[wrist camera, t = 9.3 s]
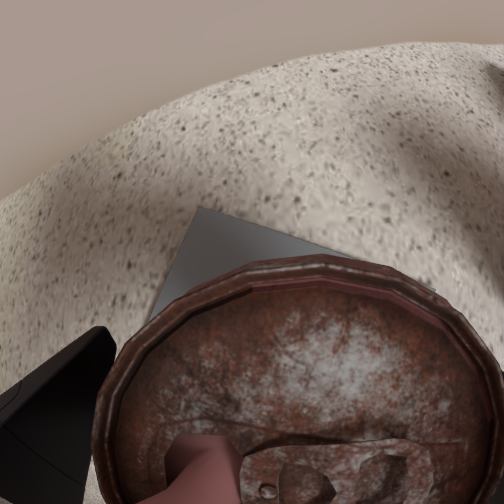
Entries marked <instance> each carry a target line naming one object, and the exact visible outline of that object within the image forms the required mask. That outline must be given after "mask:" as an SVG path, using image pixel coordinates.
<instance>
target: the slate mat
mask: <svg viewBox="0 0 504 504" xmlns="http://www.w3.org/2000/svg"><path fill="white" fill-rule="evenodd" d="M321 253H324V254H329V255H334V256H339V257H344V258H349V259H354V258H351V257H348V256H345V255H343V254H340V253H337V252H334V251H331V250H329V249H326V248H323V247H320V246H317V245H314V244H312V243H309V242H306V241H303V240H300V239H297V238H294V237H291V236H288V235H285V234H283V233H280V232H277V231H274V230H271V229H268V228H265V227H262V226H259V225H256V224H253V223H250V222H247V221H244V220H241V219H238V218H235V217H232V216H229V215H226V214H223V213H219V212H216V211H213V210H210V209H207V208H204V207H201V206H200V207H199V209H198V211H197V213H196V215H195V217H194V219H193V221H192V223H191V225H190V228H189V230H188V232H187V234H186V236H185V238H184V240H183V243H182V245H181V247H180V249H179V251H178V254H177V256H176V258H175V260H174V262H173V265H172V267H171V269H170V271H169V274H168V276H167V278H166V281H165V283H164V285H163V288H162V290H161V292H160V295H159V297H158V299H157V302H156V304H155V307H154V309H153V311H152V314H151V316H150V319H149V321H150V320H152V319H153V318H154V317H155V316H156V315H157V314H158V313H159V312H161V311H162V310H163V309H164V308H165V307H166V306H167V305H169V304H170V303H171V302H172V301H173V300H175V299H177V298H179V297H182V296H183V295H184V294H185V293H186V292H188V291H189V290H190V289H191V288H193V287H195V286H197V285H200V284H202V283H204V282H206V281H209V280H211V279H213V278H216V277H218V276H220V275H223V274H225V273H227V272H230V271H232V270H234V269H236V268H239V267H241V266H243V265H246V264H248V263H250V262H252V261H260V260H269V259H278V258H286V257H295V256H304V255H313V254H321ZM355 260H357V259H355ZM420 284H421V283H420ZM422 285H423V286H425V287H427V288H428V289H430V290H432V291H433V292H435V291H436V289H434V288H431V287H429V286H426V285H424V284H422ZM149 321H148V322H149Z"/></svg>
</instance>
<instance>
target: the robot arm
mask: <svg viewBox="0 0 504 504" xmlns="http://www.w3.org/2000/svg"><path fill="white" fill-rule="evenodd" d="M116 351H117V346H116V343H115V341H114V339H113V338H112V336H111V334H110V333H109V331H108V329H107V328H106V327H104V326H95V327H93V328H91V329H90V330H89V331H87V332H86V333H84V334H83V335H82V336H80V337H79V338H77V339H76V340H75V341H73V342H72V343H70V344H69V345H68V346H66V347H65V348H64V349H62V350H61V351H59V352H58V353H57V354H55V355H54V356H53V357H51V358H50V359H49V360H47V361H46V362H45V363H43V364H42V365H40V366H39V367H38V368H36V369H35V370H34V371H32V372H31V373H30V374H28V375H27V376H26V377H24V378H23V380H20V381H19V382H18V383H16V384H15V385H14V386H12V387H11V388H10V389H8V390H7V391H6V392H4V393H3V394H1V395H0V504H83V499H84V493H85V486H86V481H87V476H88V471H89V466H90V461H91V456H92V450H91V436H92V428H93V421H94V414H95V407H96V401H97V395H98V392H99V390H100V388H101V386H102V384H103V382H104V380H105V378H106V377H107V375H108V373H109V371H110V369H111V367H112V366H113V364H114V360H115V355H116ZM501 372H502V376H503V380H504V372H503V371H502V370H501ZM489 504H504V472H503V476H502V479H501V481H500V483H499V485H498V487H497V489H496V491H495V493H494V495H493V497H492V499H491V501H490V502H489Z"/></svg>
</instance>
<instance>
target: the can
mask: <svg viewBox="0 0 504 504" xmlns="http://www.w3.org/2000/svg"><path fill="white" fill-rule="evenodd" d="M91 450H92V455H93V461H94V466H95V471H96V475H97V480H98V484H99V489H100V493H101V495H102V497H103V499H104V501H105V502H106V504H489V502H490V501H491V499H492V497H493V495H494V493H495V491H496V489H497V487H498V485H499V483H500V481H501V479H502V476H503V472H504V380H503V376H502V372H501V368H500V365H499V363H498V361H497V360H496V359H495V357H494V356H493V354H492V353H491V351H490V350H489V349H488V347H487V346H486V344H485V343H484V342H483V340H482V339H481V338H480V336H479V335H478V334H477V332H476V331H475V330H474V328H473V327H472V326H471V324H470V323H469V322H468V320H467V319H466V318H465V317H464V315H463V314H462V313H460V312H459V311H457V310H456V309H454V308H453V307H452V306H451V304H450V303H449V302H448V301H447V300H446V299H445V298H443V297H442V296H440V295H438V294H437V293H435V292H433V291H432V290H430V289H428V288H427V287H425V286H423V285H422V284H420V283H418V282H417V281H415V280H413V279H411V278H410V277H408V276H406V275H404V274H403V273H401V272H399V271H397V270H396V269H394V268H392V267H390V266H385V265H380V264H375V263H370V262H365V261H360V260H355V259H349V258H344V257H339V256H334V255H329V254H324V253H321V254H313V255H304V256H295V257H286V258H278V259H269V260H260V261H252V262H250V263H248V264H246V265H243V266H241V267H239V268H236V269H234V270H232V271H230V272H227V273H225V274H223V275H220V276H218V277H216V278H213V279H211V280H209V281H206V282H204V283H202V284H200V285H197V286H195V287H193V288H191V289H190V290H189V291H188V292H186V293H185V294H184V295H183V296H182V297H179V298H177V299H175V300H173V301H172V302H171V303H170V304H169V305H167V306H166V307H165V308H164V309H163V310H162V311H161V312H159V313H158V314H157V315H156V316H155V317H154V318H153V319H152V320H150V321H149V322H148V323H147V324H146V325H145V326H144V327H142V328H141V329H140V330H139V331H138V332H137V333H136V334H135V335H133V336H132V337H131V338H130V339H129V340H128V341H127V342H126V343H125V344H124V346H123V348H122V349H121V351H120V353H119V355H118V357H117V358H116V360H115V362H114V364H113V366H112V367H111V369H110V371H109V373H108V375H107V377H106V378H105V380H104V382H103V384H102V386H101V388H100V390H99V392H98V395H97V401H96V407H95V414H94V421H93V428H92V436H91Z"/></svg>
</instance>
